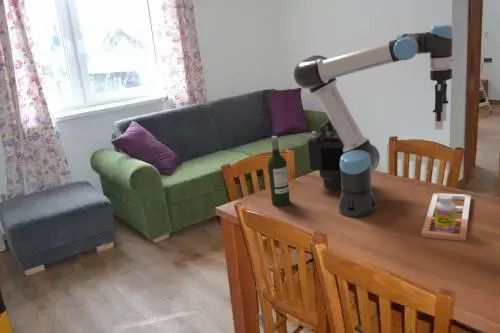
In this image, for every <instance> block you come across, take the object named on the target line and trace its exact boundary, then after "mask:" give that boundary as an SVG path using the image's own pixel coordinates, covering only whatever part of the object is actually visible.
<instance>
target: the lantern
mask: <svg viewBox="0 0 500 333" xmlns="http://www.w3.org/2000/svg"><path fill="white" fill-rule="evenodd" d="M326 127H327V131H326ZM318 129H319V131H320V132H316V131H312V132H311V134H313V135H312V136H311V137H310V138H309V139H308V141H307V145H308V147H307V148H308V156H309V168H310V171H318V172H319V177H320V178H322V179H323V181H322V182H323V187H324V189H326V190H328V191H329V190H330V191H342V186H341V171H340V158H341V156H342V155H343V154H344V153H343V148H344V145H343V143H342V141H341V140H340V138H339V136H338V134H337V132H336V130H335V129H334V127H333V125H332V123H331V121H330V119H327V120H325V121H324V122H322V124H321V125H320V126H319V128H318Z"/></svg>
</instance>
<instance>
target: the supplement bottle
mask: <svg viewBox="0 0 500 333" xmlns="http://www.w3.org/2000/svg"><path fill="white" fill-rule="evenodd" d="M450 194H451V193H444V194H441V195H439V196H438V201H437V203H436V204H435V212H434V217H435V223H434V229H435V232H446V233H455V231H456V225H455V219H457V218H456V215H457V214H456V213H457V211H456V206H457V205H456V203H455V202H453V201H454V199H453V196H452V195H450Z"/></svg>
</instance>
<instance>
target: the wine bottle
mask: <svg viewBox="0 0 500 333" xmlns="http://www.w3.org/2000/svg"><path fill="white" fill-rule="evenodd" d="M271 150H272V155H271V157H270V158H269V159H268V161H267V169H268V176H269V177H268V178H269V179H268V180H269V188H270V196H271V198H270V199H271V204H272V205H273V206H276V207H283V206H284V205H285V206H287V205H289V204H290V202H291V200H290V198H291V197H290V189H289V188H290V187H289V179H288V178H289V177H288V168H287V167H288V166H287V160H286V159H285V157H283V156H282V155H281V153H280V145H279V138H278V136H277V135H273V136H271Z"/></svg>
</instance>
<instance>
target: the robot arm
mask: <svg viewBox="0 0 500 333" xmlns="http://www.w3.org/2000/svg"><path fill="white" fill-rule="evenodd" d="M453 38H454V37H453V27H452V25H451V24H441V25H439V24H437V25H432V26H430V28H429V31H428V32H416V33H415V32H414V33H403V34H398V35H397V36H396V37H395V39H394V40H390V41H387V42H383V43H379V44H376V45H372V46H369V47H365V48H362V49H358V50H355V51H351V52H348V53H347V52H346V53H344V54H340V55H336V56H334V57H330V58H328V57H326V56H324V55H317V54H316V55H312V56H310V57H307V58H305V59H302V60H301V61H300V62H298V63H297V64H296V65H295V68H294V70H293V79H294V82H295V83H296V84H297V85H298V87H300V88H303V89H307V90H309V91H310V92H309V93H310V94H311V95H313V96H316V97H317V99H318V101H319V102H320V105H321V106H322V107H323V110H324V112H325V114H326V115H327V117H328V120H330V121H331V124H332V127H333V129H334V130H336V132H337V134H338V136H339V138H340V140H341V141H342V143H343V145H344V148H343V153H344V154H343V155H342V156H341V158H340V171H341V186H342V190H341V195H340V197H339V202H338V207H337V208H338V212H339V213H340V215H343V216H346V217H351V218H352V217H353V218H362V217H367V216H370V215H371V216H372V215H373V214H375V213H376V212H377V210H378V208H377V207H378V206H377V205H378V204H377V201H376V200H375V195H374V194H373V191H372V174H373V173H374V171H375V170H376V169H377V168H378V167H379V164H380V161H381V160H380V159H381V156H380V152H379V149H378V148H377V147H376V146H375V145H374V144H372V143H371V141H370V140H369V137H366V136H363V135H362V133H361V131H360V129H359V127H358V125H357V123H356V121H355V120H354V117H353V116H352V113H351V112H350V111H349V108H348V106H347V104H346V103H345V101H344V99H343V97H342V95H341V93H340V92H339V90H338V88H337V85H336V84H337V81H338V80H337V78H340V77H343V76H348V75H351V74H355V73H358V72H362V71H365V70H370V69H374V68H377V67H381V66H385V65H389V64H393V63H397V62H400V61H409V60H411V59H413V58H414V57H416V56H417V55H420V54H429V68H430V71H429V75H430V76H429V79H430V80H431V81H433V82H435V81H436V83H435V85H434V95H435V96H434V109H433V110H432V113H434V130H436V131H437V130H439V131H440V130H441V131H442V130H444V122H446V121H447V105H448V104H449V100H448V97H447V91H448V83H447V81H449V80H451V79H453V69H452V67H453V62H454V60H455V59H454V58H453V41H454V39H453Z"/></svg>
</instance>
